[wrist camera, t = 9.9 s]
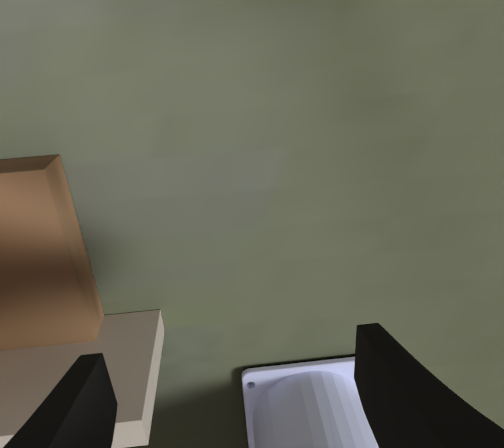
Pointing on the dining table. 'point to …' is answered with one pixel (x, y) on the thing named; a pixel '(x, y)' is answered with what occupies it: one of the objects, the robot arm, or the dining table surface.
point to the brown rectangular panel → (43, 259)
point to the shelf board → (119, 368)
